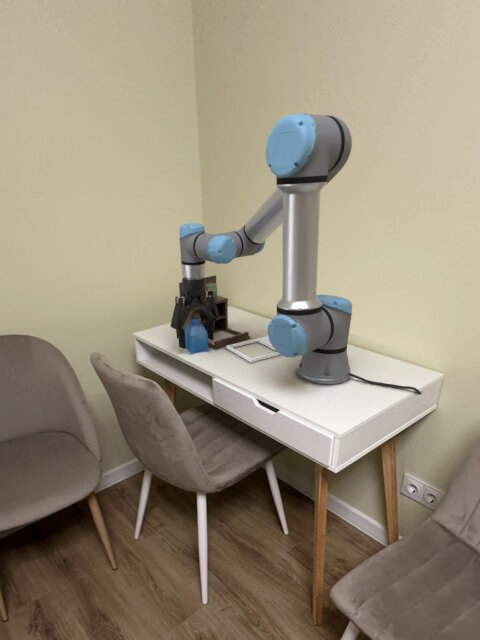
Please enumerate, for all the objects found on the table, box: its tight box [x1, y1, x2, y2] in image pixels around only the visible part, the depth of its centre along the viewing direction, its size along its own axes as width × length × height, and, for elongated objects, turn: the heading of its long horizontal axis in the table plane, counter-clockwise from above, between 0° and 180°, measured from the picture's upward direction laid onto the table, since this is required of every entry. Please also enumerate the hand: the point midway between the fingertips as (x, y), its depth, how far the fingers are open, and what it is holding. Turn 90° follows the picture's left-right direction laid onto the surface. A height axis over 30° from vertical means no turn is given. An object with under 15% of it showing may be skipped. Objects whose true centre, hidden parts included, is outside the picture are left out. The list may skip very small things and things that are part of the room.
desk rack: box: [178, 275, 251, 350], centre depth 166 cm, size 19×16×19 cm
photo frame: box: [225, 335, 282, 363], centre depth 159 cm, size 15×1×18 cm
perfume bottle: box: [185, 313, 209, 355], centre depth 157 cm, size 6×6×12 cm
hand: (196, 343), depth 159 cm, fingers open, 11 cm apart
